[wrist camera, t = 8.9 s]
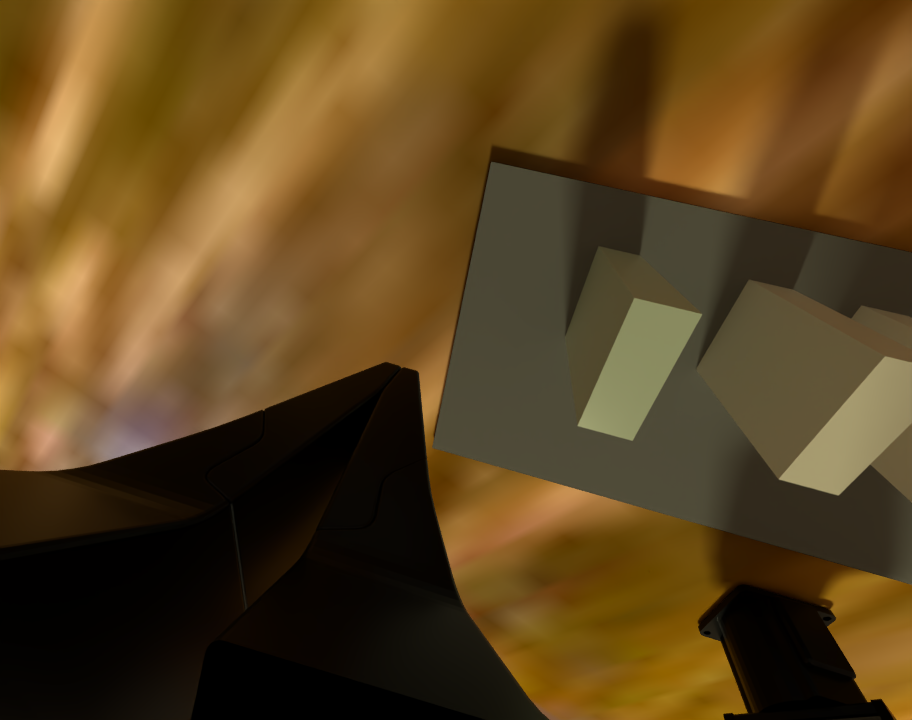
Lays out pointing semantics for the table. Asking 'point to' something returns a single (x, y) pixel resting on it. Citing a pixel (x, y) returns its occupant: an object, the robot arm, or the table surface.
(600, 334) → the domino
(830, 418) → the domino
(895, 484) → the domino
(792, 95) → the table surface
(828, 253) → the mat
